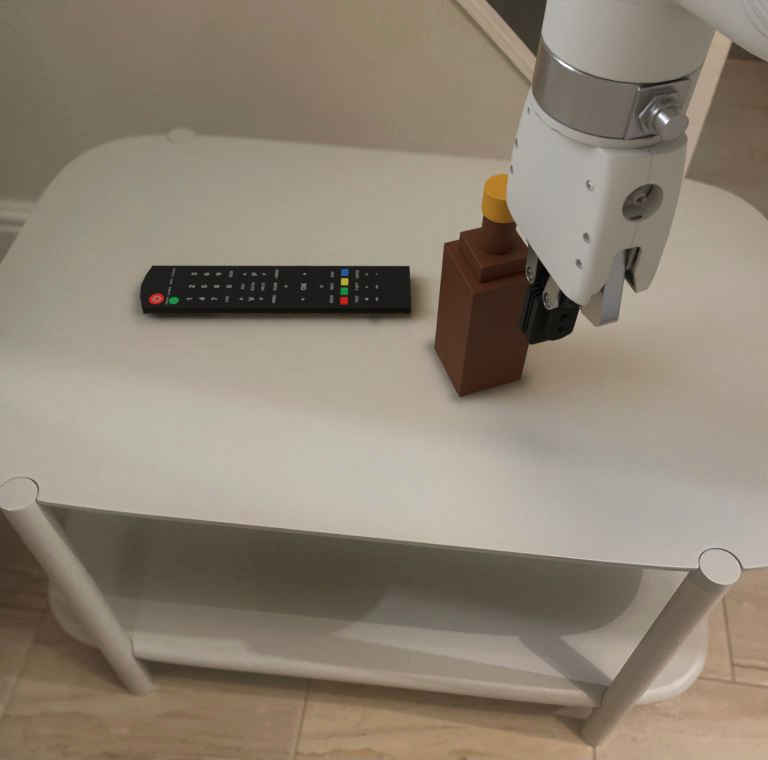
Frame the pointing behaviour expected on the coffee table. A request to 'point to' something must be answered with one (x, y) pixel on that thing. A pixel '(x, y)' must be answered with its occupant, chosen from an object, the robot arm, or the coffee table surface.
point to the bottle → (483, 299)
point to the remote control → (277, 289)
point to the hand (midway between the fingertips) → (544, 331)
